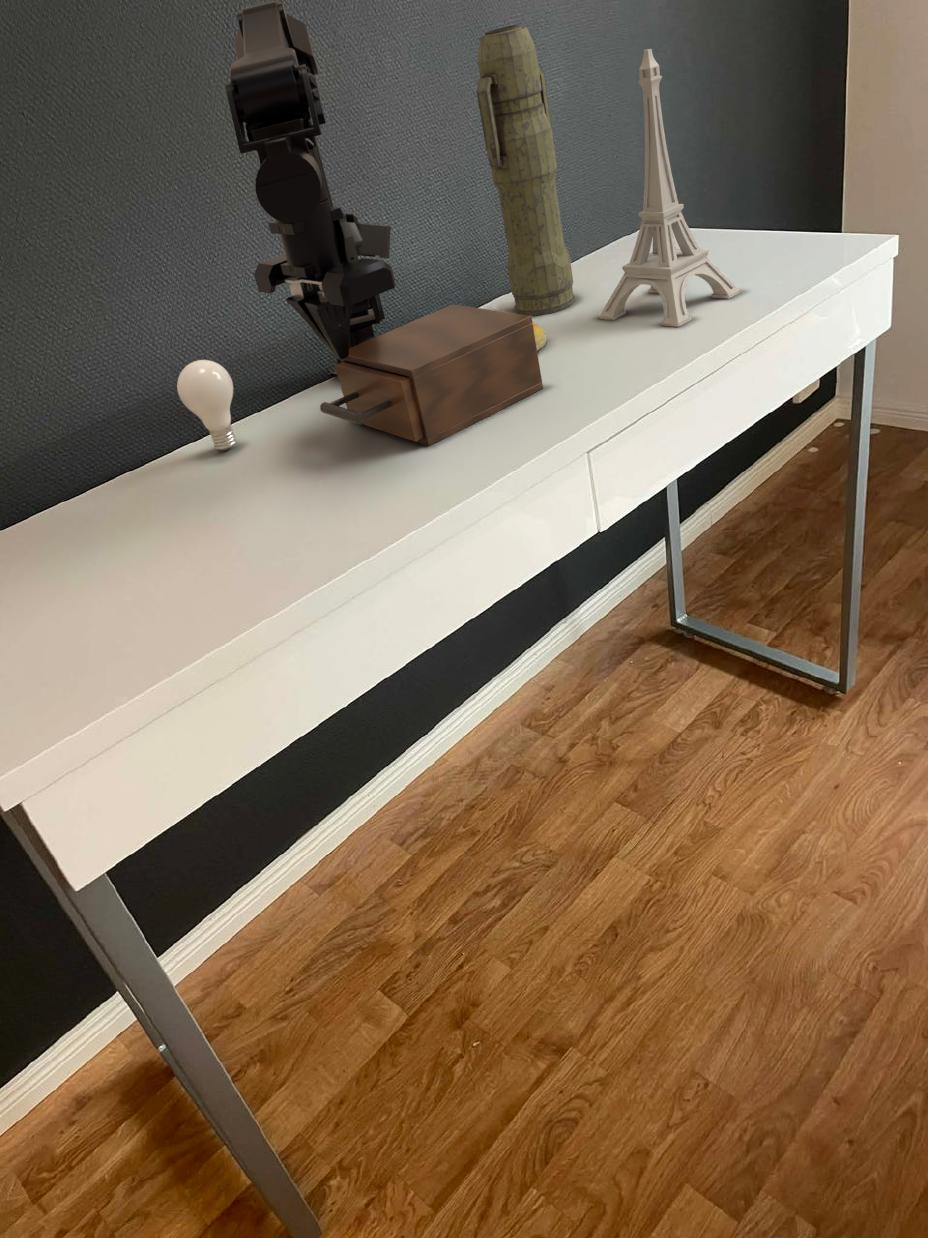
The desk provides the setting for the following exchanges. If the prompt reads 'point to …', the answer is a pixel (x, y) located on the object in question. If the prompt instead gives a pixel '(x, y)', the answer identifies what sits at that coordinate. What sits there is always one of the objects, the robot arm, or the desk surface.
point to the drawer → (376, 400)
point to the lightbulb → (209, 399)
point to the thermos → (524, 169)
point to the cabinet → (458, 364)
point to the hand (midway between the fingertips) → (343, 357)
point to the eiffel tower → (663, 226)
